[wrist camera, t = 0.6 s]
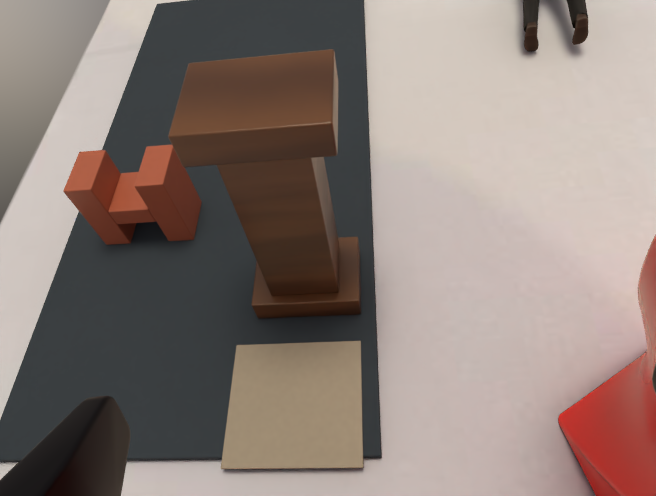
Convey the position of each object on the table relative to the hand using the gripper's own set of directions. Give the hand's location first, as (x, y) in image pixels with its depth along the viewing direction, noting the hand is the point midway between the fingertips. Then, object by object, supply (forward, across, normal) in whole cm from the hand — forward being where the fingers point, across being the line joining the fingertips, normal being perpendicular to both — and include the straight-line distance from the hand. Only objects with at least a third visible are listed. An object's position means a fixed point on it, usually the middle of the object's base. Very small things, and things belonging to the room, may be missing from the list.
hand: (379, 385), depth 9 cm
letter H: (+22, +13, +8) cm, 27 cm away
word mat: (+28, +8, +7) cm, 30 cm away
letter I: (+17, +3, +10) cm, 20 cm away
